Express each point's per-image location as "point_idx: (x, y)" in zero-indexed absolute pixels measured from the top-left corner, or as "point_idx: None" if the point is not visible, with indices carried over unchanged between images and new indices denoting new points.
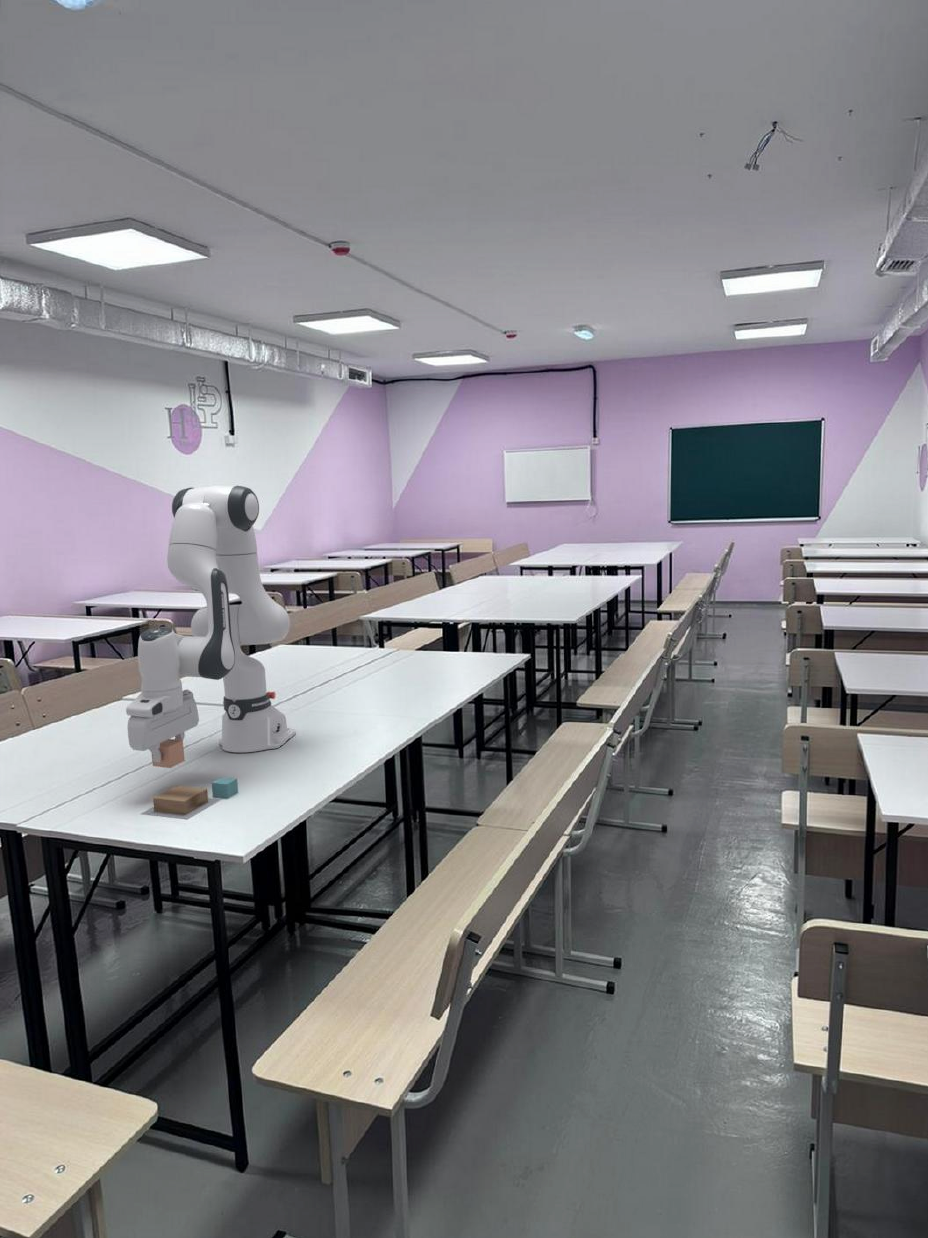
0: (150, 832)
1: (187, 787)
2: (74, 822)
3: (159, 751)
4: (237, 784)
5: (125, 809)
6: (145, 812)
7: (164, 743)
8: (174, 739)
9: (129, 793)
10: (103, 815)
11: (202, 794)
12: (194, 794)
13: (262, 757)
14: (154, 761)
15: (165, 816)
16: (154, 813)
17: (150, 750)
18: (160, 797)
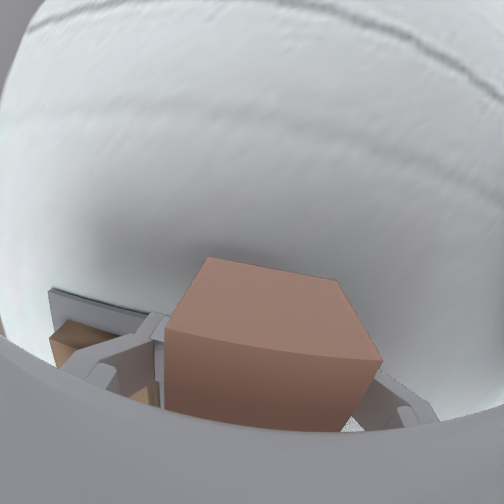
0: (24, 339)
1: (143, 400)
2: (12, 136)
3: (129, 394)
4: None
5: (80, 209)
6: (57, 300)
7: (236, 413)
8: (341, 429)
9: (215, 123)
10: (43, 175)
11: None
12: None
13: (482, 359)
14: (153, 313)
15: None
16: (61, 325)
17: (92, 352)
18: (59, 355)
